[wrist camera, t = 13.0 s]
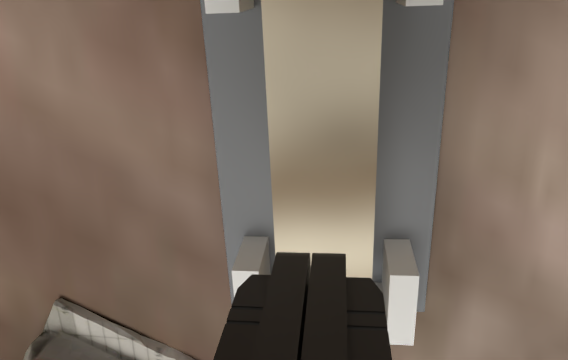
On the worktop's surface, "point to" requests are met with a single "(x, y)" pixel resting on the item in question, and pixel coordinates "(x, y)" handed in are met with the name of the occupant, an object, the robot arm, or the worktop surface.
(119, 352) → the packaged product
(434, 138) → the board
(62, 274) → the worktop surface
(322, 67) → the slat
